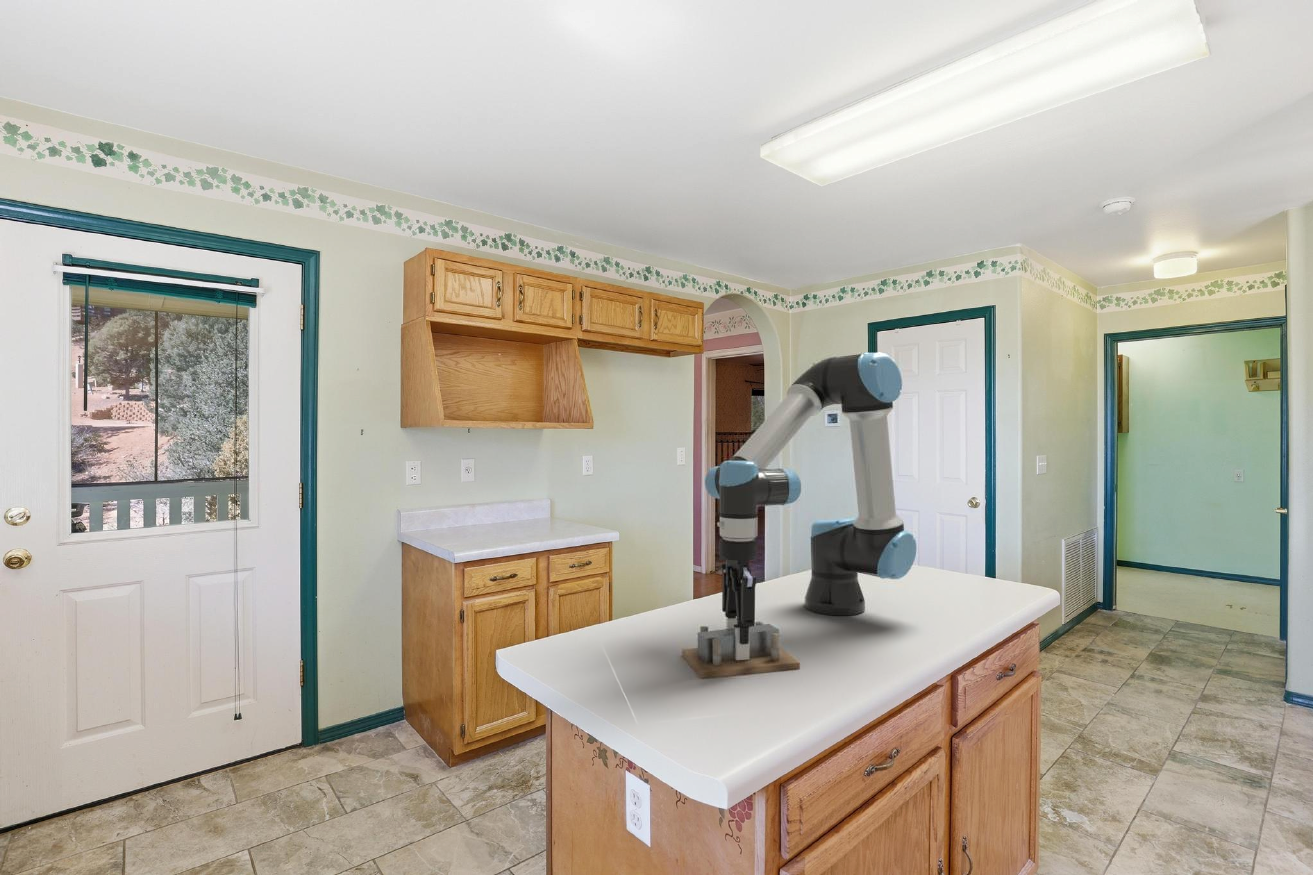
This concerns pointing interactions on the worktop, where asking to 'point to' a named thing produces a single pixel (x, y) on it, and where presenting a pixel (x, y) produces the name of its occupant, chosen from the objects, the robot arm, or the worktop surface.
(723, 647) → the steel bar
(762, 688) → the worktop surface
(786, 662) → the peg rack
